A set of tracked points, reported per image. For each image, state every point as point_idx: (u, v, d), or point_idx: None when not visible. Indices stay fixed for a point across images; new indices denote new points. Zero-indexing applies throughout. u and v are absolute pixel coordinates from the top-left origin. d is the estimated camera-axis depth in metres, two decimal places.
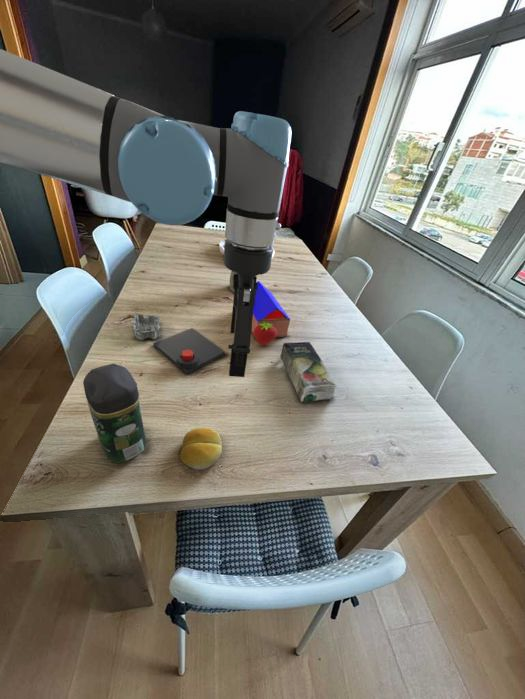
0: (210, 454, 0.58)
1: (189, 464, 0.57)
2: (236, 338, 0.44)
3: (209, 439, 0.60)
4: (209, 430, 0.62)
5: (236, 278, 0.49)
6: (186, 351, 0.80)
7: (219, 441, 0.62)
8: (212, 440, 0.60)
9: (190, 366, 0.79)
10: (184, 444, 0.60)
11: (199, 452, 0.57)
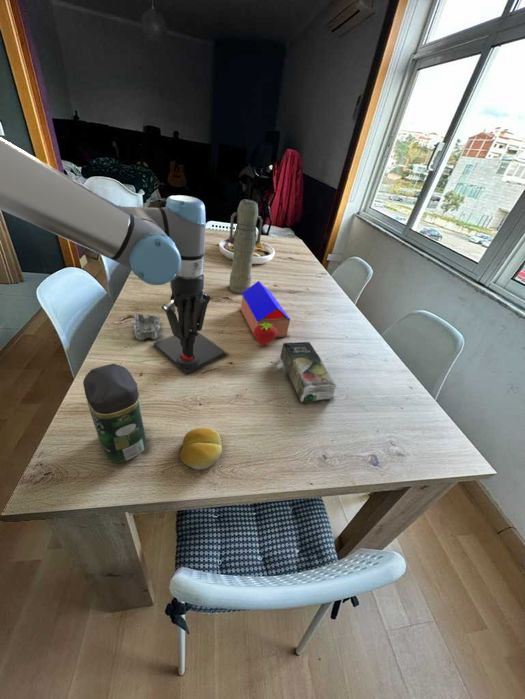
0: (210, 454, 0.58)
1: (189, 464, 0.57)
2: (171, 329, 0.72)
3: (209, 439, 0.60)
4: (209, 430, 0.62)
5: None
6: None
7: (219, 441, 0.62)
8: (212, 440, 0.60)
9: (190, 366, 0.79)
10: (184, 444, 0.60)
11: (199, 452, 0.57)
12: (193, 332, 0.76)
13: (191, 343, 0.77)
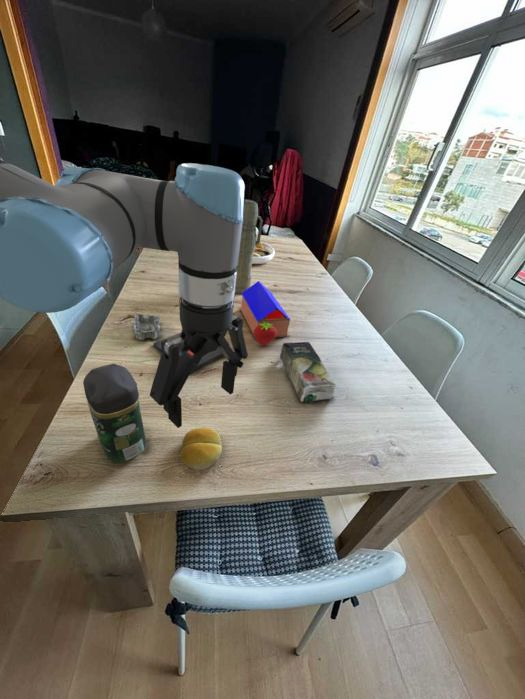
0: (209, 454, 0.58)
1: (189, 464, 0.57)
2: (153, 385, 0.42)
3: (209, 439, 0.60)
4: (209, 430, 0.62)
5: None
6: None
7: (219, 441, 0.62)
8: (212, 440, 0.60)
9: None
10: (184, 444, 0.60)
11: (199, 452, 0.57)
12: (236, 363, 0.53)
13: (233, 377, 0.54)
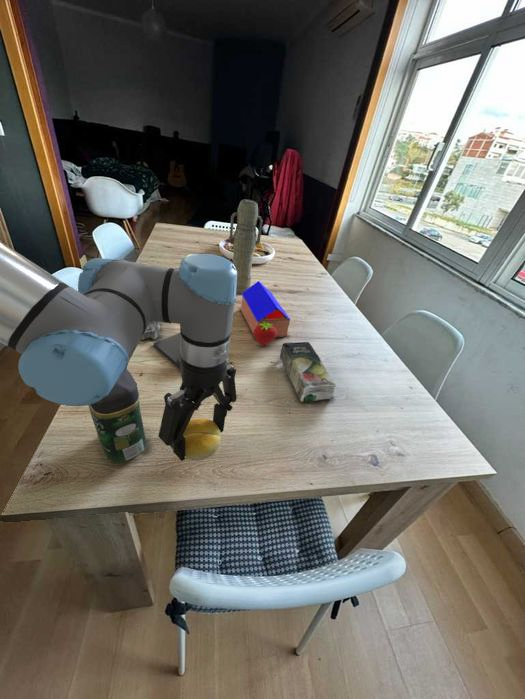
0: (208, 444, 0.56)
1: (187, 455, 0.55)
2: (161, 429, 0.49)
3: (207, 430, 0.58)
4: (208, 421, 0.60)
5: None
6: None
7: (218, 432, 0.60)
8: (210, 430, 0.59)
9: None
10: None
11: (197, 442, 0.55)
12: (226, 407, 0.58)
13: (223, 418, 0.60)
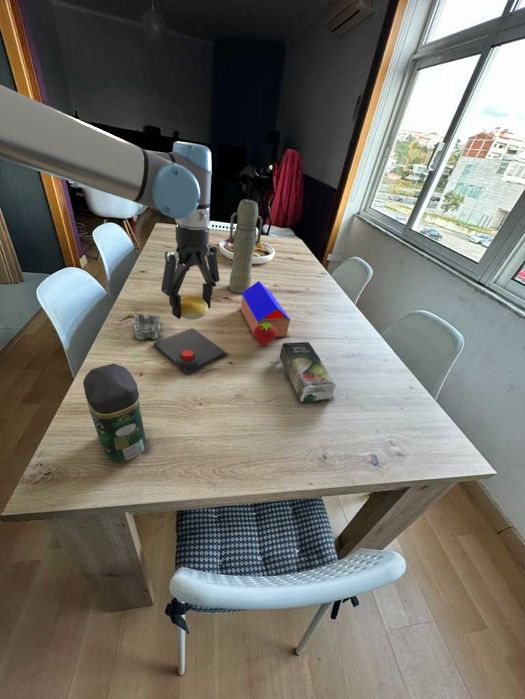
0: (198, 307, 0.76)
1: (182, 314, 0.76)
2: (162, 283, 0.70)
3: (197, 300, 0.79)
4: (198, 296, 0.80)
5: None
6: (186, 351, 0.80)
7: (206, 304, 0.80)
8: (200, 301, 0.79)
9: (190, 366, 0.79)
10: None
11: (190, 305, 0.76)
12: (211, 283, 0.79)
13: (209, 294, 0.80)
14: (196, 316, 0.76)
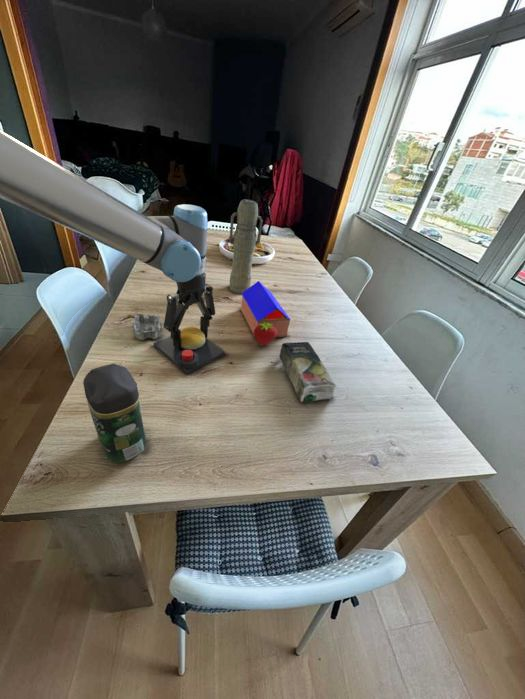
0: (196, 339, 0.85)
1: (182, 345, 0.85)
2: (165, 320, 0.79)
3: (196, 332, 0.88)
4: (196, 328, 0.89)
5: None
6: (186, 351, 0.80)
7: (203, 335, 0.89)
8: (198, 333, 0.88)
9: (190, 366, 0.79)
10: None
11: (189, 337, 0.85)
12: (208, 317, 0.88)
13: (206, 326, 0.89)
14: (194, 347, 0.85)
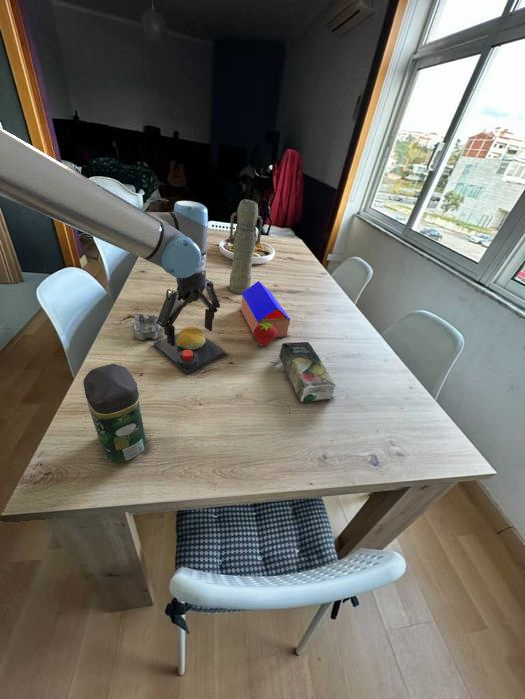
0: (196, 339, 0.85)
1: (182, 345, 0.85)
2: (159, 315, 0.77)
3: (196, 332, 0.88)
4: (196, 328, 0.89)
5: None
6: (186, 351, 0.80)
7: (203, 335, 0.89)
8: (198, 333, 0.88)
9: (190, 366, 0.79)
10: (179, 336, 0.88)
11: (189, 337, 0.85)
12: (212, 310, 0.88)
13: (211, 318, 0.89)
14: (194, 347, 0.85)
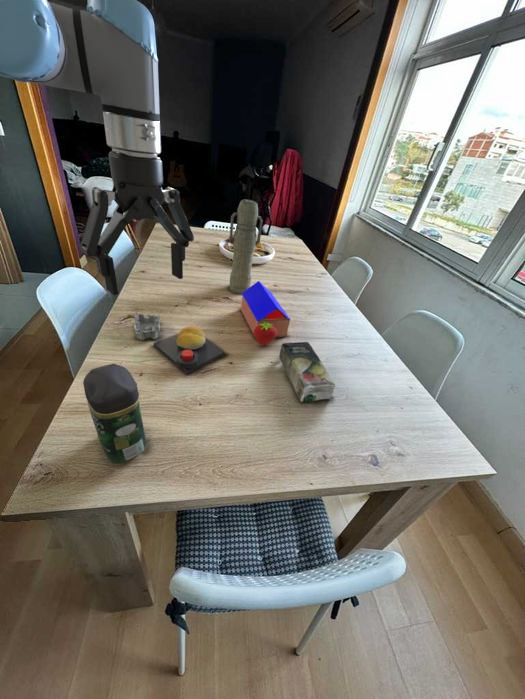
0: (196, 339, 0.85)
1: (182, 345, 0.85)
2: (83, 236, 0.45)
3: (196, 332, 0.88)
4: (196, 328, 0.89)
5: None
6: (186, 351, 0.80)
7: (203, 335, 0.89)
8: (198, 333, 0.88)
9: (190, 366, 0.79)
10: (179, 336, 0.88)
11: (189, 337, 0.85)
12: (181, 243, 0.56)
13: (180, 258, 0.58)
14: (194, 347, 0.85)
